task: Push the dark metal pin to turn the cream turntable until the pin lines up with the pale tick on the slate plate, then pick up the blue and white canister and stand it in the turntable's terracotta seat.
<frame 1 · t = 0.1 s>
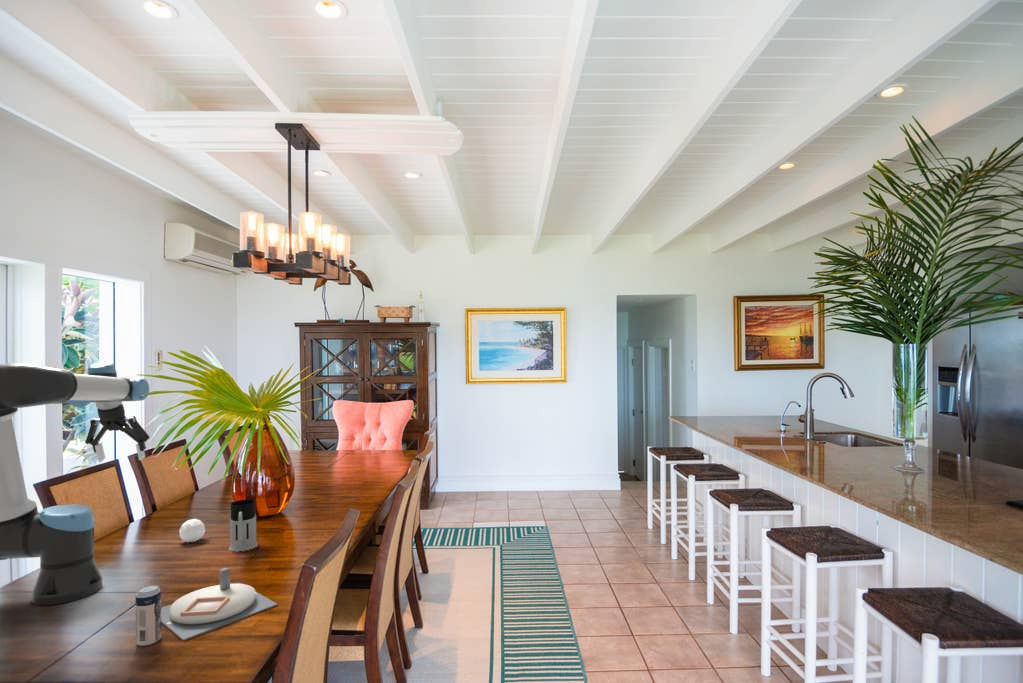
hand: (122, 459, 200), 28 cm above the table, tool tilted 20°, fingers open, 13 cm apart
turntable: (214, 592, 140), point 4 cm above the table, hinge at 45.0°
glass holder: (242, 550, 183), on the table
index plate: (214, 609, 140), on the table
blue and white canister: (148, 642, 125), on the table
geometric ball: (192, 542, 193), on the table
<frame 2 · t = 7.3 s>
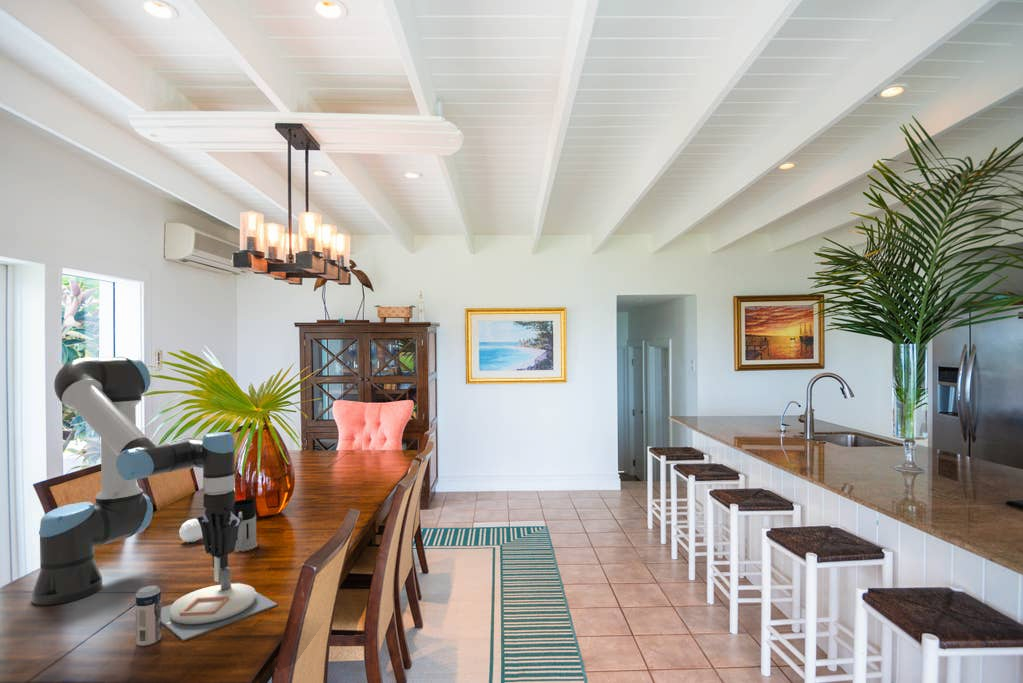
hand: (220, 579, 148), 5 cm above the table, tool pointing down, fingers closed
turntable: (214, 592, 140), point 4 cm above the table, hinge at 43.2°, touching gripper
everything else where it was.
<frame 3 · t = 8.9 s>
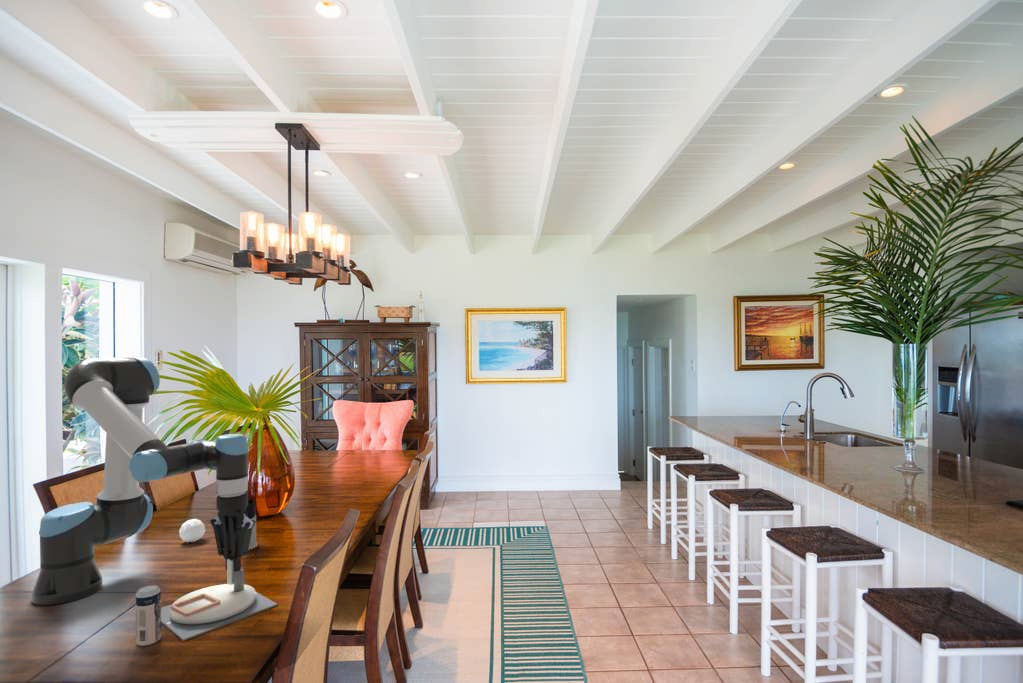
hand: (233, 582, 146), 4 cm above the table, tool pointing down, fingers closed
turntable: (214, 592, 140), point 4 cm above the table, hinge at 5.5°, touching gripper
everything else where it was.
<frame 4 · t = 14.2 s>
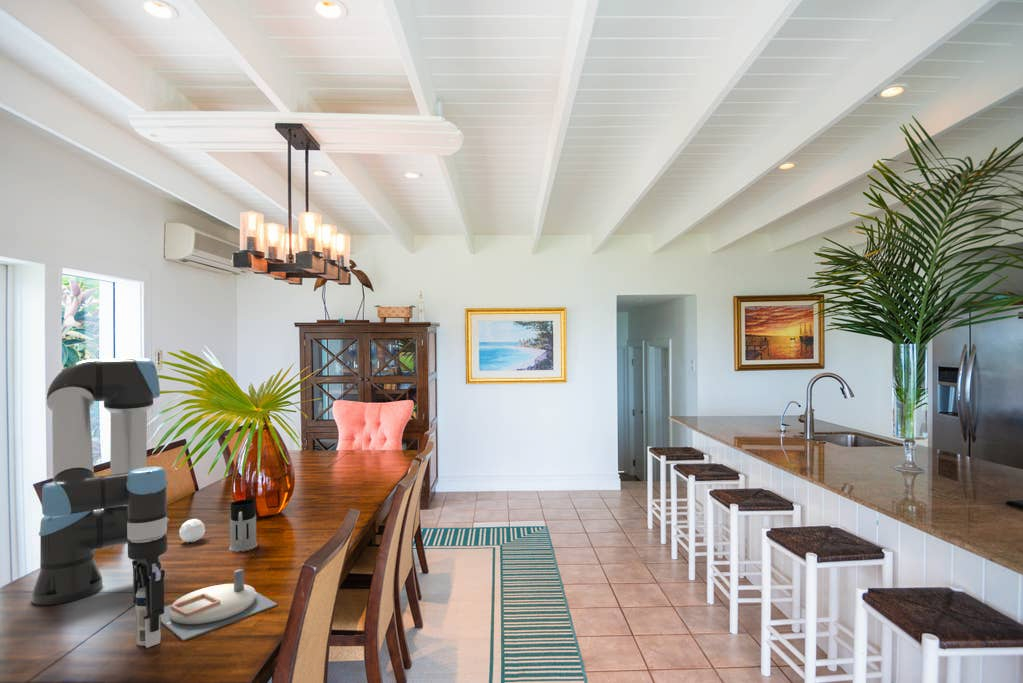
hand: (148, 640, 125), 0 cm above the table, tool pointing down, fingers closed on blue and white canister, 5 cm apart
turntable: (214, 592, 140), point 4 cm above the table, hinge at 5.6°
blue and white canister: (148, 642, 125), on the table, touching gripper
everything else where it was.
when the fingers open (4 cm above the table, at t = 18.9 s): blue and white canister drops 2 cm, resting on turntable.
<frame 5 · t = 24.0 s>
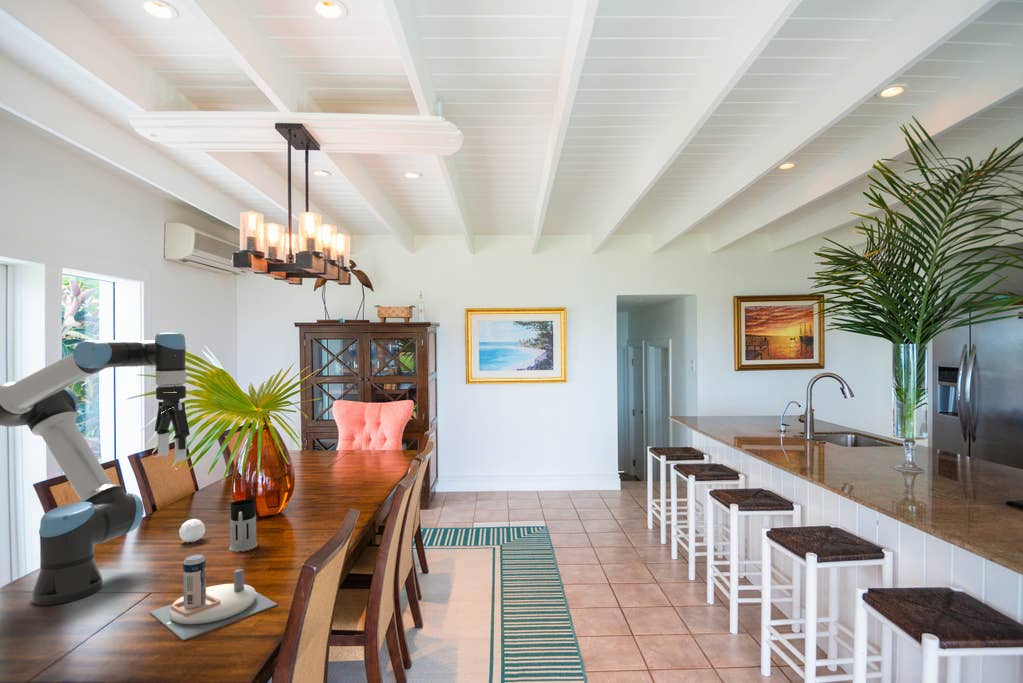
hand: (171, 458, 162), 35 cm above the table, tool pointing down, fingers open, 13 cm apart
turntable: (214, 592, 140), point 4 cm above the table, hinge at 5.3°, touching blue and white canister
blue and white canister: (194, 606, 137), point 2 cm above the table, touching turntable
everything else where it was.
at the end: turntable at +5° (first picture: +45°); blue and white canister 0.1 cm from the target spot, point 2.3 cm above the table; blue and white canister tilted 0° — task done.
